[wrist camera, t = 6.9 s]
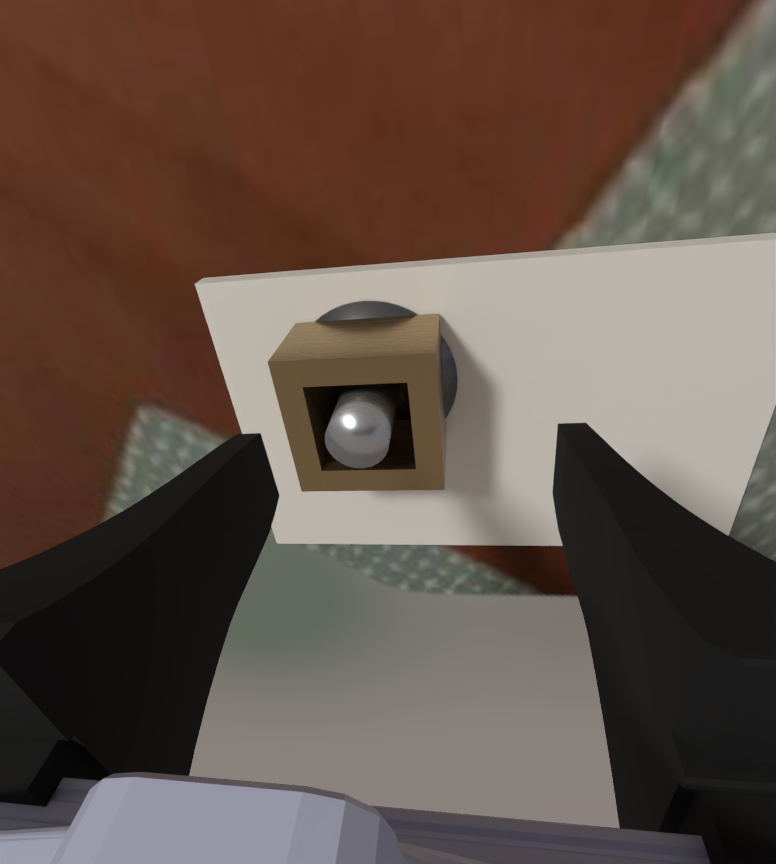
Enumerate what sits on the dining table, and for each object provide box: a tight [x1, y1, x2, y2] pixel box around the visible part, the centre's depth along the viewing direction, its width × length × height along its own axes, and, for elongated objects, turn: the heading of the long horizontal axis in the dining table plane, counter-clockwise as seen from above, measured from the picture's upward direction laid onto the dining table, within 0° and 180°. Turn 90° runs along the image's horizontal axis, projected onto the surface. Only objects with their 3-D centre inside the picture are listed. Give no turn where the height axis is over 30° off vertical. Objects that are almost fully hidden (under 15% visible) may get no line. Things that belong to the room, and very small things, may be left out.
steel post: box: [315, 301, 458, 468], centre depth 19 cm, size 7×7×4 cm
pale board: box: [195, 233, 776, 546], centre depth 22 cm, size 22×14×1 cm, turn 96°
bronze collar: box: [268, 314, 446, 492], centre depth 19 cm, size 6×6×4 cm
